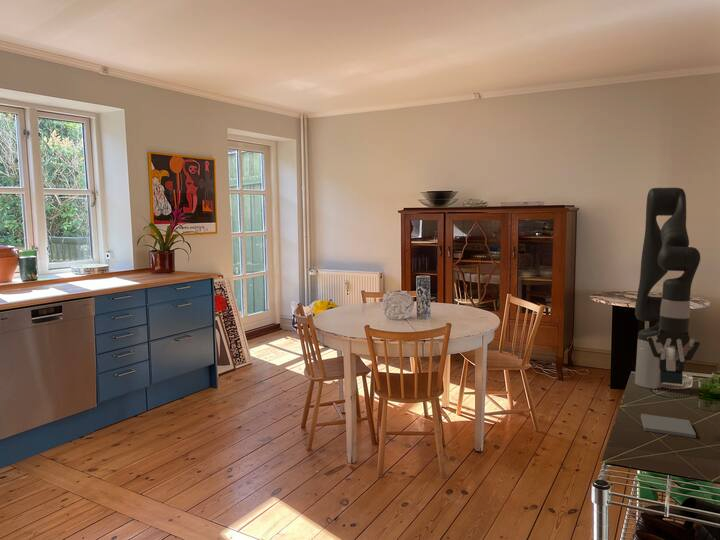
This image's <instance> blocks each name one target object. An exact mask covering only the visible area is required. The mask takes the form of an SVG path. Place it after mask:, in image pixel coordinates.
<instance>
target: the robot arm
mask: <svg viewBox="0 0 720 540" xmlns="http://www.w3.org/2000/svg"><path fill="white" fill-rule="evenodd" d="M646 196H647V197H646V204H645V205H646V206H645V208H646V209H645V226H644V227H645V231H644V236H643V237H644V238H643V244H642V252H641V260H640V271H639V273H640V275H639V283H638V290H637V295H636V299H635V305H634V315H635V318H636V319H637V320H639V321H641V322H653V323H654V322H655V323H656V324H655V325H653V326H650V327H647V328H645V329H644V328H643V329H640V330H639V331H638V332H637V333H638V334H637V345H636V361H635V375H634V378H635V379H634V384H635V385H637V386H638V387H641V388H645V389H652V390H653V389H654V390H656V389H657V390H658V388H659V389H662V388H663V387H664V383H662V382H660V371H661V370H662V371H665V369H666V359H665V356H666V353H667V350H666V347H669V346H675V350H677V352H678V360H677V362H676V370H677V373H678V372H682V373H683V372H684V367H685V362H686V361H691V360H692V359H693V358H694V356H695V354H696V353H697V350H698V349H699V347H700V345H701V343H700V341H699V340H697V339H693V338H691V337H690V335H689V330H690V318H691V317H690V316H691V301H690V300H691V291H692V290H691V289H692V284H693V280H694V279H695V278H694V277H695V275H696V273H697V270H698V268H699V265H700V262H701V253H700V251H699V249H697V248H696V247H693V246H690V238H689V234H688V230H687V197H686V196H687V195H686V192H685V190H684V189H683V188H681V187H652V188H651V189H649V190H648V193H647V195H646ZM658 216H660V217H662V216H665V217H666V216H667V217H669V216H671V217H669V218H668V219H667V220H666V221H665V222H664V223H663V225H662V227H661V228H660V225H659V224H658V221H657V217H658ZM669 271H670V272H672V271H674V272H683V273H682V274H681V276H678V277H673V278H668V279H667V278H666V279H665V280H664V281H663V284H662V293H661V294H662V296H652V295H650V292H651V291H652V289H653V288H654V287H655V285H657V283H658V282H660V280H662V279H663V278H664V276H665V275H667V273H668V272H669ZM649 295H650V296H649ZM688 343H689V345H688V346H690V347H689V349H688V351H687V352H686V354H685V355H684V349H683V348H684V347H685V346H686V345H687V344H688ZM662 386H663V387H662ZM661 387H662V388H661Z"/></svg>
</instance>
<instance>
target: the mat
mask: <svg viewBox="0 0 720 540" xmlns="http://www.w3.org/2000/svg"><path fill="white" fill-rule="evenodd" d="M640 419H641V423H642V427H644V428H643V431H644V432H649V431H650V433H658V434H663V435H670V436H678V437H685V438H691V439H692V438H693V439H696V438H697V434H696V432H695V430H694V428H693V426H692V423H691V421H690V420H688V419H683V418H675V417H668V416H661V415H652V414H647V413H640Z"/></svg>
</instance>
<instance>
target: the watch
mask: <svg viewBox="0 0 720 540" xmlns="http://www.w3.org/2000/svg"><path fill="white" fill-rule="evenodd" d="M666 350H667V353H666V356H665V360H666V361H665V371H662V370H661V371H660V382H662V383H663V384H665V383H666V384H675V385H683V381H684V380H683V377H684V376H683V372H678V373H677V361H678V360H679V358H678V352H677V350H675V346H669V347H666Z"/></svg>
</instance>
